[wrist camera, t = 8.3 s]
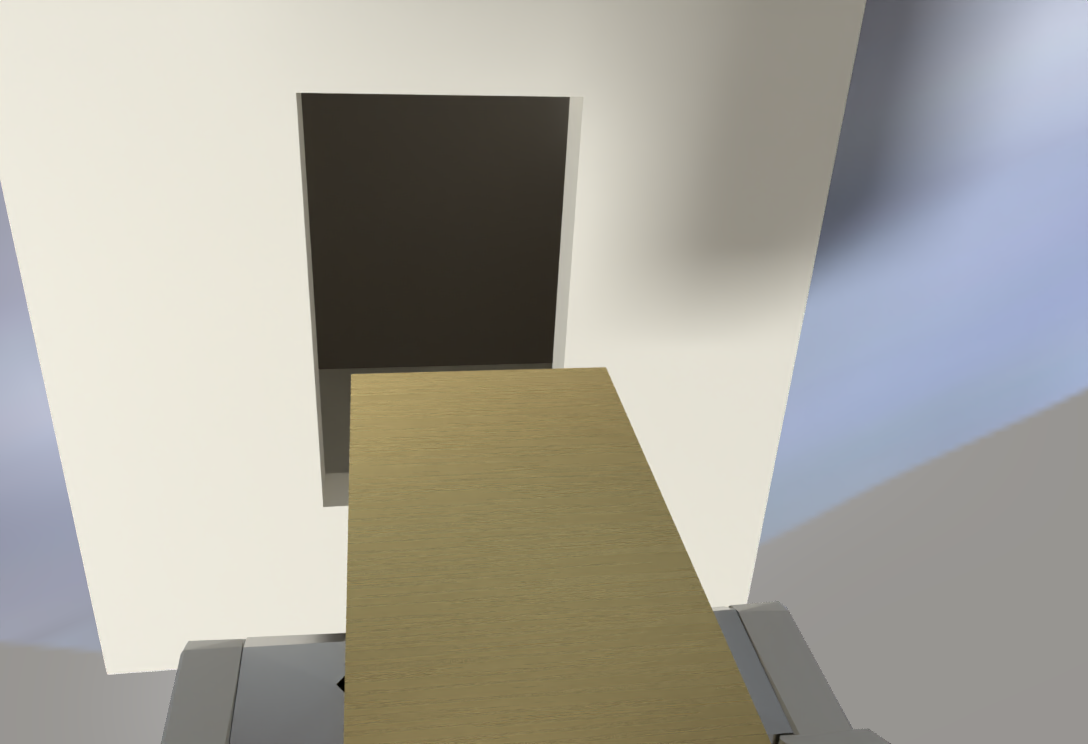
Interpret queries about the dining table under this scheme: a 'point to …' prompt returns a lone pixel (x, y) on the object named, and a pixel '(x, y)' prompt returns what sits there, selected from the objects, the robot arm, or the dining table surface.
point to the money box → (398, 260)
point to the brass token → (521, 572)
